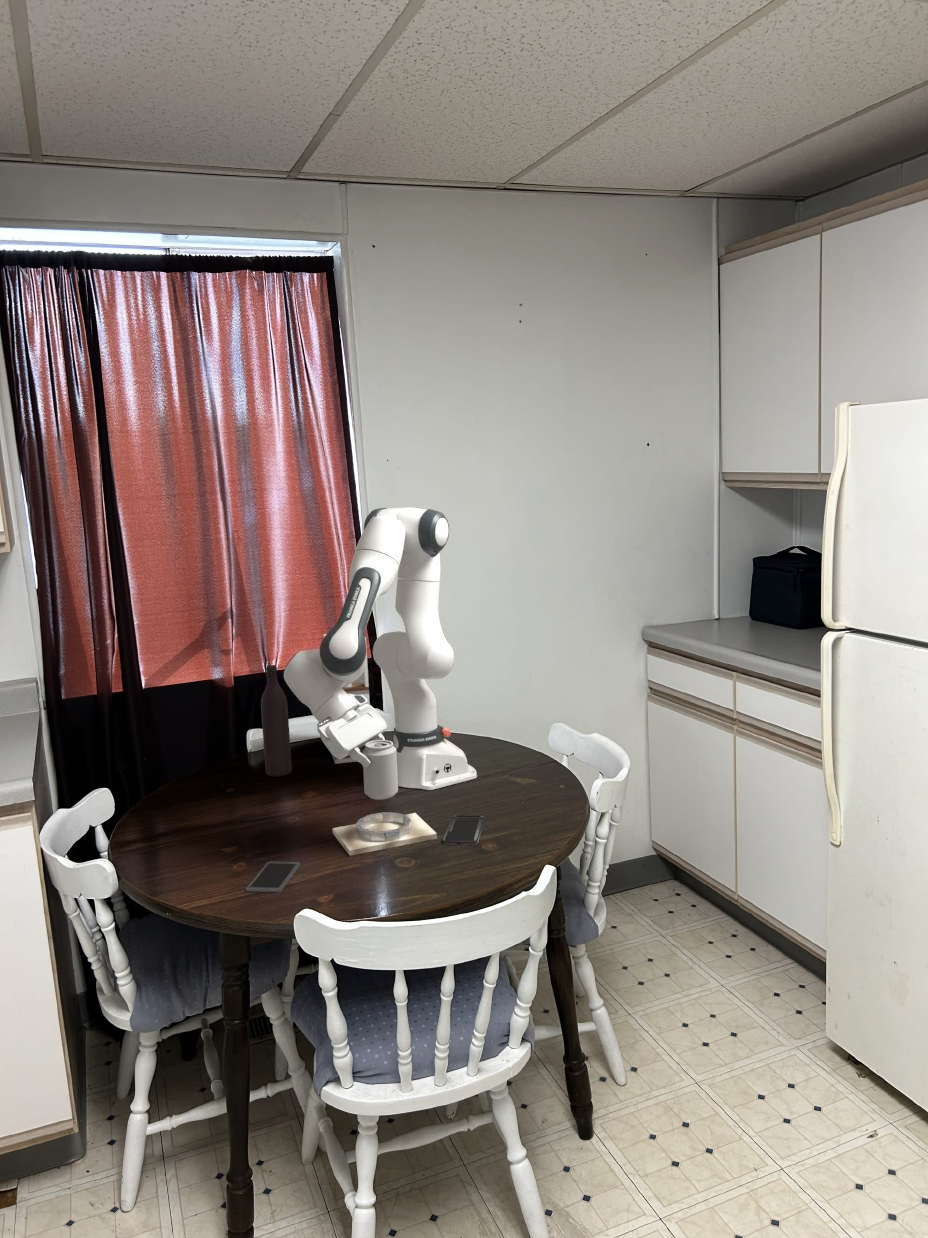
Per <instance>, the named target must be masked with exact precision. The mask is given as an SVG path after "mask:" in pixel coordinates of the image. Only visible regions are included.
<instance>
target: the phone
mask: <svg viewBox="0 0 928 1238" xmlns="http://www.w3.org/2000/svg"><path fill="white" fill-rule="evenodd" d="M485 822H486V820H485V816H483V815H453V816H451V818H450V821H449V823H448V824H447V828H446V830H445V833H444V835H443V837H442V843H443V845H448V846H449V845H454V846H455V845H456V846H457V845H458V846H461V845H462V846H475V845H477V844H479V840H480V838H481V834H482V831H483V828H484V825H485Z"/></svg>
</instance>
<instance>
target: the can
mask: <svg viewBox="0 0 928 1238" xmlns="http://www.w3.org/2000/svg"><path fill="white" fill-rule="evenodd" d="M362 752H363V754H364V755H365V756H369V757H370V759H372V763H371V764H370V765H369V766H368V767H366V768H365V767H364V766H363V765H362V767H363V769H362V771H363V785H364V786H363V787H364V788H363V790H364V794H365V795H366V796H367V797H369V798H370V799H372V800H387V799H390V798H393V797H395V795H396V794H397V793H398V791H399V786H398V777H397V754H396V748H395V747H394V741H391V740H389V739H388V740H386V739H385V740H374V741H370V742H367V743H366V744H365V749H364V750H363V751H362Z"/></svg>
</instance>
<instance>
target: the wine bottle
mask: <svg viewBox="0 0 928 1238" xmlns="http://www.w3.org/2000/svg"><path fill="white" fill-rule="evenodd" d="M277 672H278V667H277V665H276V664H269V665H266V668H265V673H266V676H267V678H266V679H267V680H266V685H265V689H264V691H263V692H262V696H261V699H260V700H261V701H260V712H261V726H262V727H261V728H262V739H263V740H262V741H263V754H264V766H265V767H264V768H265V774H266V775H267V776H270V777H285V776H287V775H289V774H291V773H292V770H293V765H292V750H291V739H290V724H289V723H290V721H289V710H288V709H289V708H288V700H287V697H286V694H285V692H284V691H283V689H282V688H281V686H280V684H279V682H278V675H277Z"/></svg>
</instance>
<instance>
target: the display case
mask: <svg viewBox="0 0 928 1238" xmlns="http://www.w3.org/2000/svg"><path fill="white" fill-rule="evenodd" d="M326 634H327V633H324V634H323V638H324V637H325V636H326ZM365 642H366V643H367V638H366V637H365ZM368 668H369V667H368V649H367V646H366V656H365V667H364V671H363V673H362V675H361V676H360V677H359V678H358V679H357V680H356V681H354V682H352V683H351V684H349V685H347V686H346V687H344V688H342V689H343V690H344V691H345V692H346V693H347V694H353V695H363V696H365V697H366V699H367V700H368V701H367V703H366V704H369V705H371V703H370V686H369V685H370V683H369V669H368ZM359 749H360V752H361V753H362V754H363V752H362V751H363V750H364V749H365V745H364V746H362V747H361V748H359ZM330 754H331V756H332V759H333V762H334V764H335V765H336V764H344V763H352V762H353V763H355V762H357V761H356V760H354V759H352V758H351V757H350V756H349V755H347V756H346V757H344V758H342V759H337V758H336V757H334V756H333V755H332V753H331V752H330Z"/></svg>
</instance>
